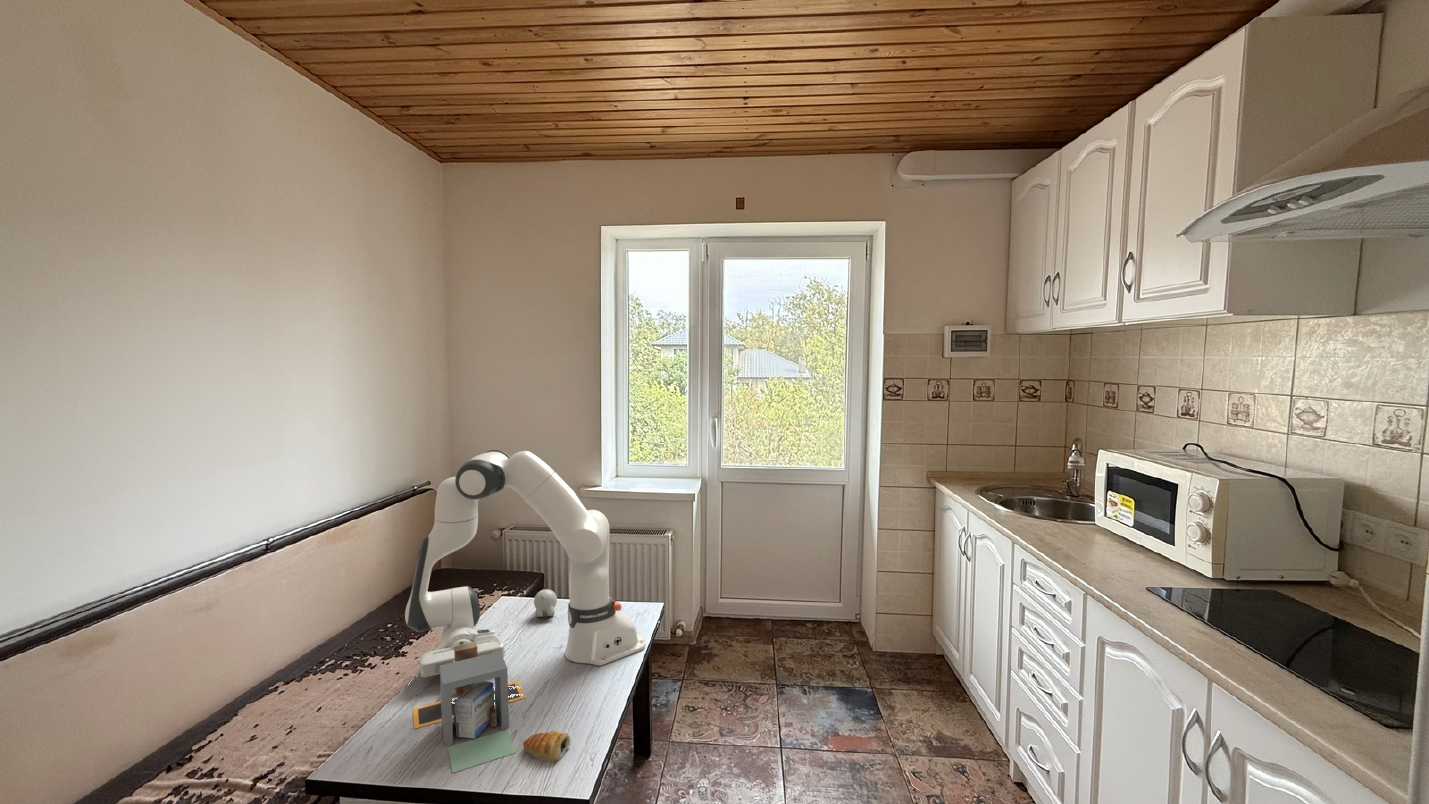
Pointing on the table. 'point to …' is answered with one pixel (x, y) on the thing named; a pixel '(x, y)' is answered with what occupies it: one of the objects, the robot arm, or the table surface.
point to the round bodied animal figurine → (545, 603)
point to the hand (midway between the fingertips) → (466, 670)
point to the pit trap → (433, 711)
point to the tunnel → (470, 674)
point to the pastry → (547, 745)
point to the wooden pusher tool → (462, 654)
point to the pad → (480, 751)
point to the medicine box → (474, 709)
